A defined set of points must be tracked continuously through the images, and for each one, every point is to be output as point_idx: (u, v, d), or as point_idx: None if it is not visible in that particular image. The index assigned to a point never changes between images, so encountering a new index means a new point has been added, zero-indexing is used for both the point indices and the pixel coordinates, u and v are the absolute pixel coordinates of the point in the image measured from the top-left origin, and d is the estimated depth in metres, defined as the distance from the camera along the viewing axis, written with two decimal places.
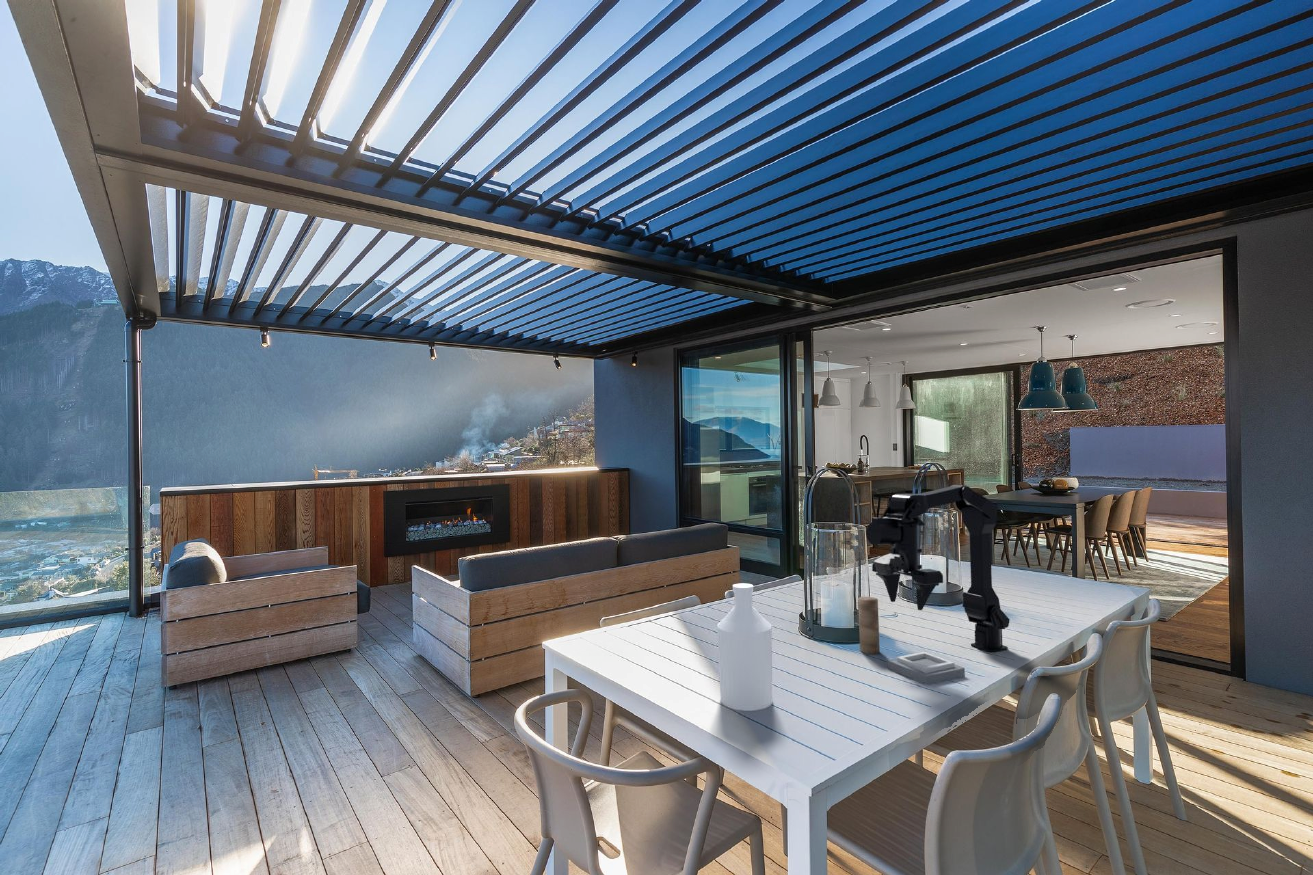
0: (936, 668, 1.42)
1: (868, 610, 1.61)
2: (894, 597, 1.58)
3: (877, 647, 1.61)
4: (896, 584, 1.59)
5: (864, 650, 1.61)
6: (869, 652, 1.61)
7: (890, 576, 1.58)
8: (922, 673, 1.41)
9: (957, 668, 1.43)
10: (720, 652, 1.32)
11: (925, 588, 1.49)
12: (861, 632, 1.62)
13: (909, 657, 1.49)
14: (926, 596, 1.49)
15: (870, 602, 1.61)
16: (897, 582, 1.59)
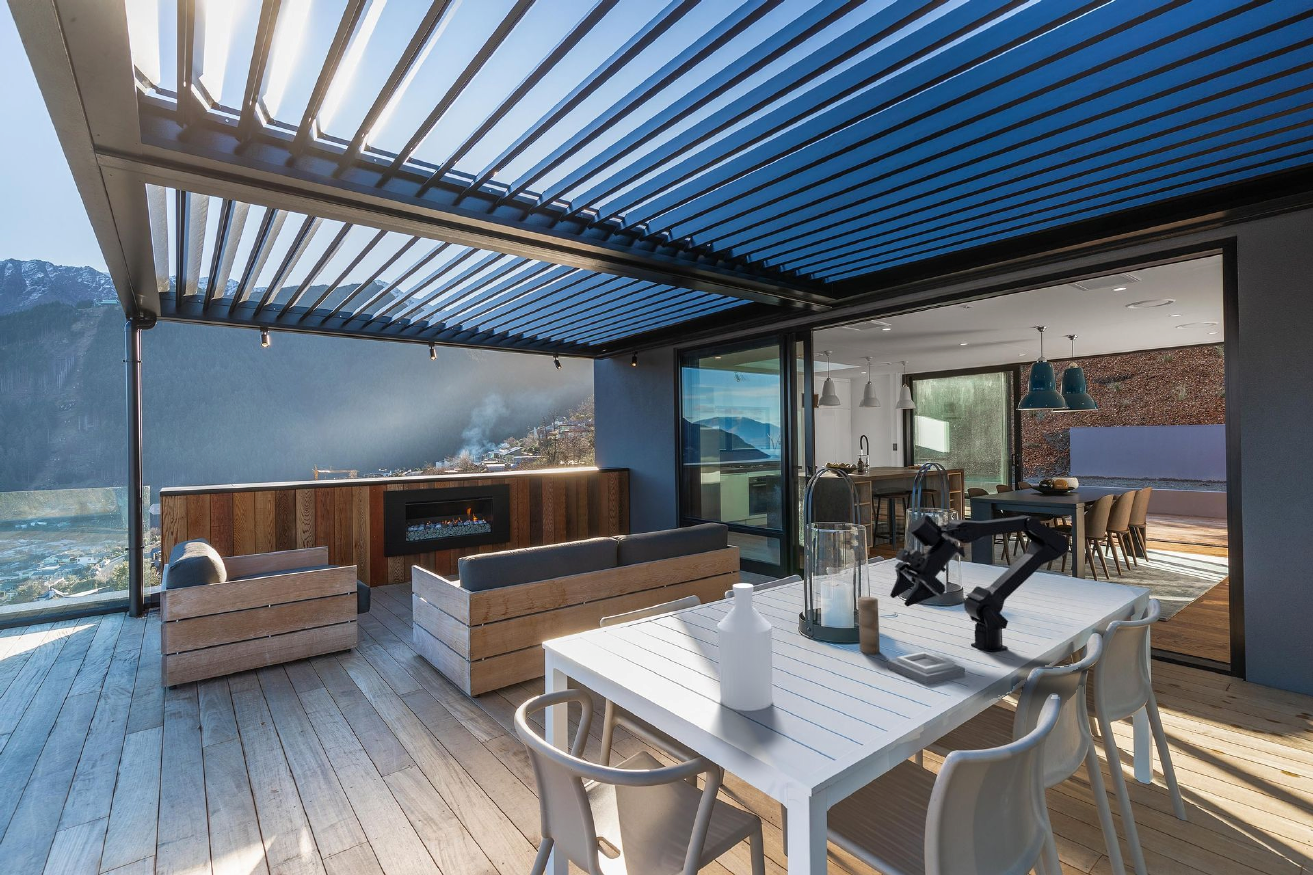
0: (936, 668, 1.42)
1: (868, 610, 1.61)
2: (895, 594, 1.68)
3: (877, 647, 1.61)
4: (904, 588, 1.68)
5: (864, 650, 1.61)
6: (869, 652, 1.61)
7: (905, 578, 1.68)
8: (922, 673, 1.41)
9: (957, 668, 1.43)
10: (720, 652, 1.32)
11: (923, 592, 1.57)
12: (861, 632, 1.62)
13: (909, 657, 1.49)
14: (918, 599, 1.57)
15: (870, 602, 1.61)
16: (907, 588, 1.68)
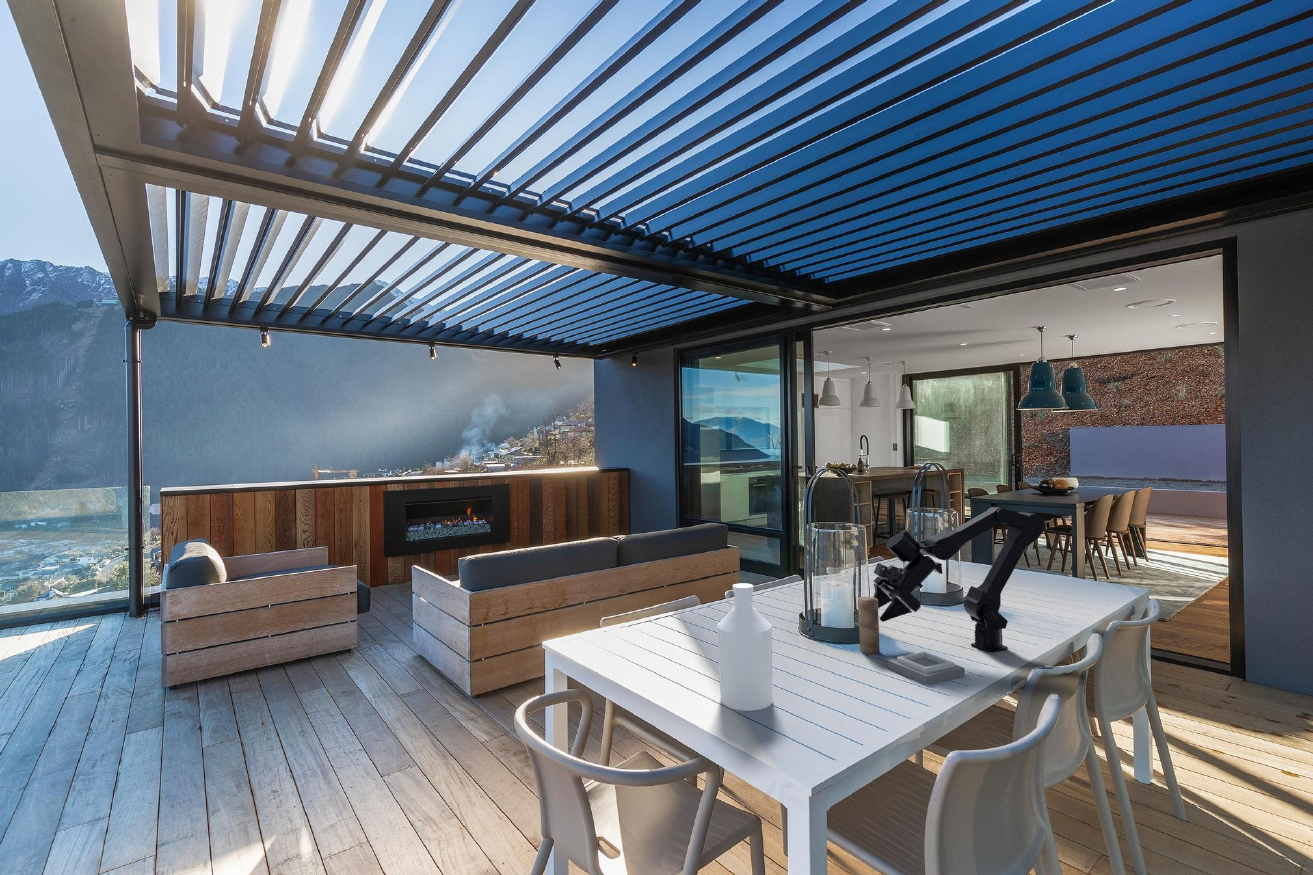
0: (936, 668, 1.42)
1: (868, 610, 1.61)
2: None
3: (877, 647, 1.61)
4: (882, 603, 1.68)
5: (864, 650, 1.61)
6: (869, 652, 1.61)
7: (882, 593, 1.68)
8: (922, 673, 1.41)
9: (957, 668, 1.43)
10: (720, 652, 1.32)
11: (898, 608, 1.57)
12: (861, 632, 1.62)
13: (909, 657, 1.49)
14: (894, 614, 1.57)
15: (870, 602, 1.61)
16: (884, 603, 1.68)
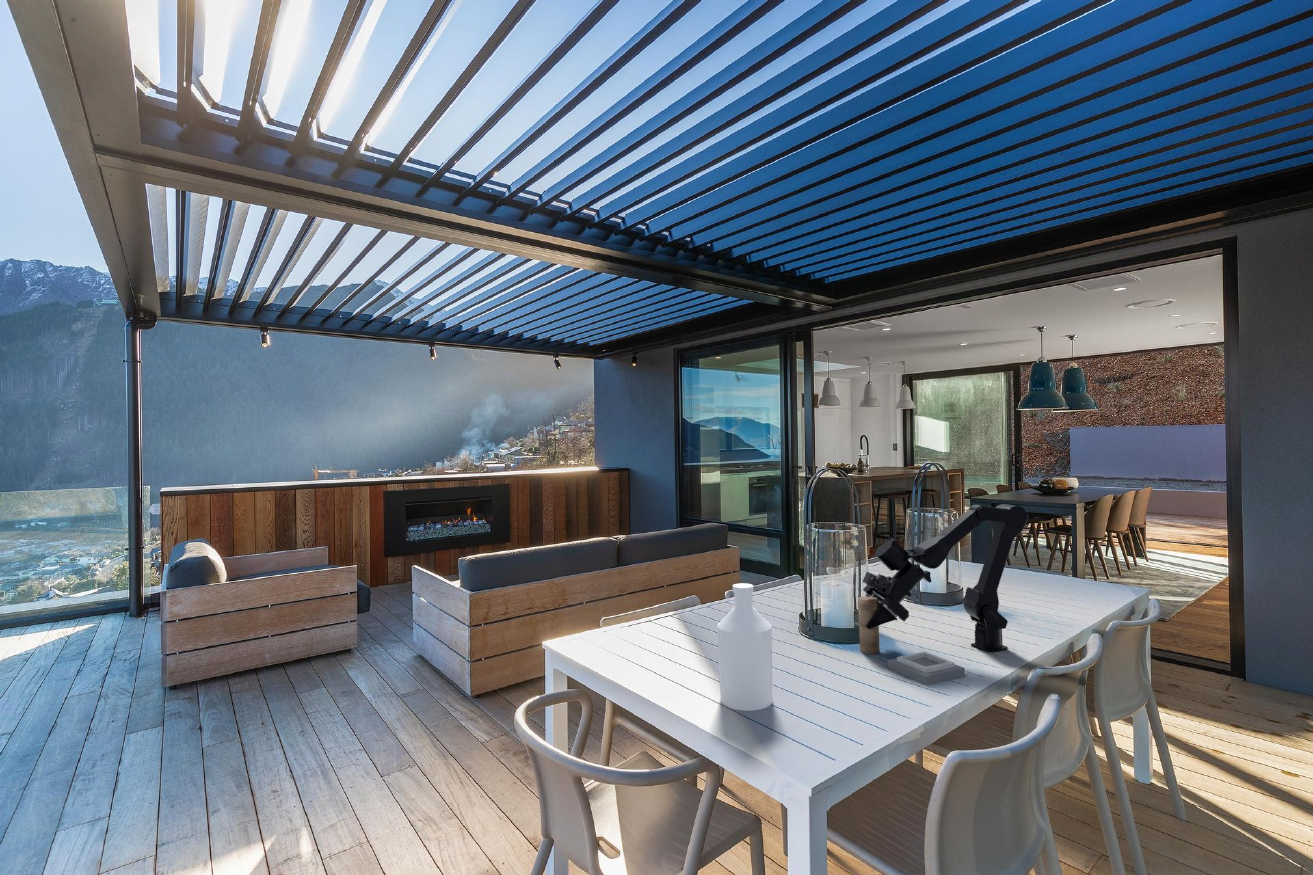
0: (936, 668, 1.42)
1: (868, 610, 1.61)
2: None
3: (877, 647, 1.61)
4: None
5: (864, 650, 1.61)
6: (869, 652, 1.61)
7: None
8: (922, 673, 1.41)
9: (957, 668, 1.43)
10: (720, 652, 1.32)
11: (884, 615, 1.59)
12: (861, 632, 1.62)
13: (909, 657, 1.49)
14: (880, 622, 1.59)
15: (870, 602, 1.61)
16: None
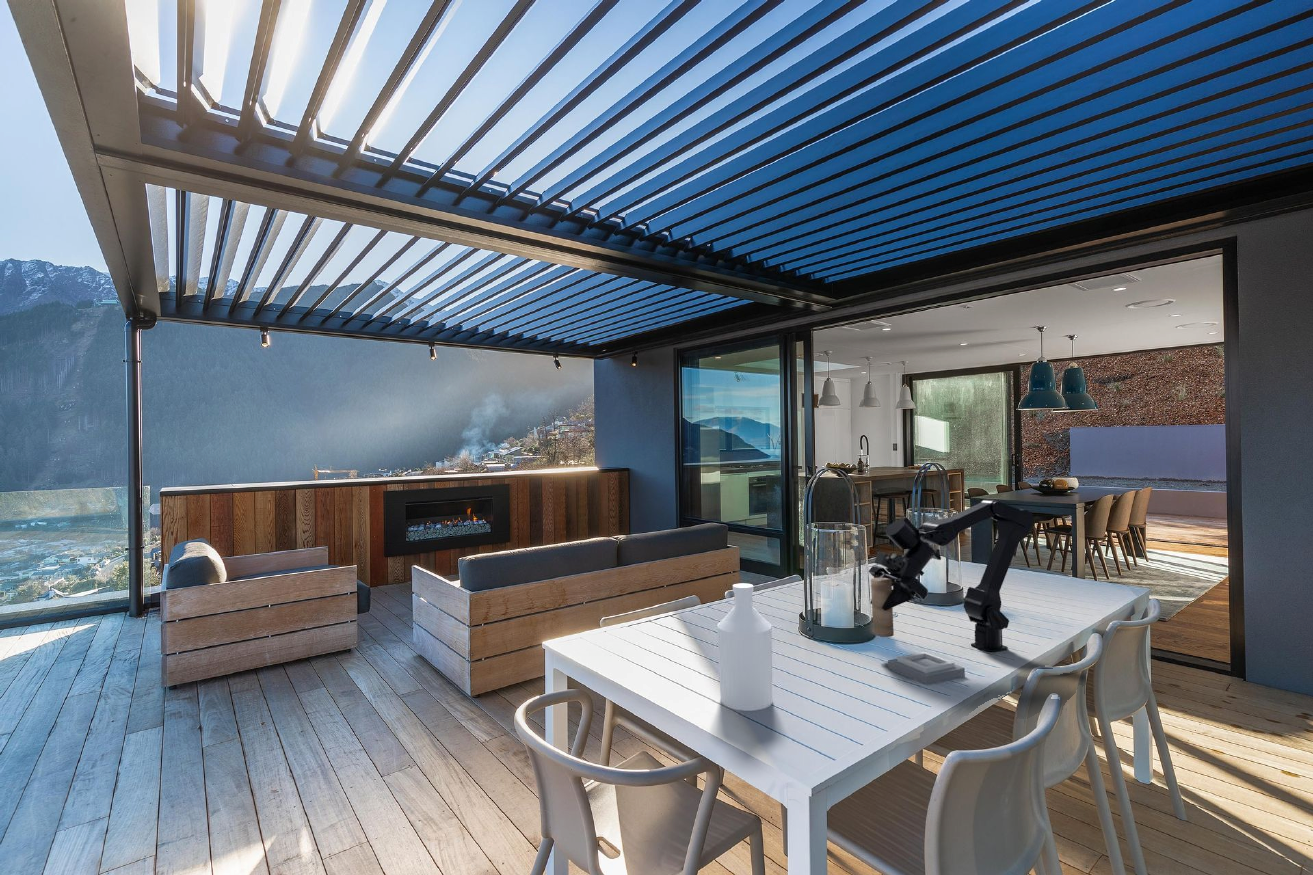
0: (936, 668, 1.42)
1: (883, 591, 1.55)
2: None
3: (892, 629, 1.55)
4: None
5: (879, 633, 1.55)
6: (885, 635, 1.55)
7: None
8: (922, 673, 1.41)
9: (957, 668, 1.43)
10: (720, 652, 1.32)
11: (900, 595, 1.54)
12: (876, 614, 1.56)
13: (909, 657, 1.49)
14: (896, 602, 1.54)
15: (885, 583, 1.55)
16: None
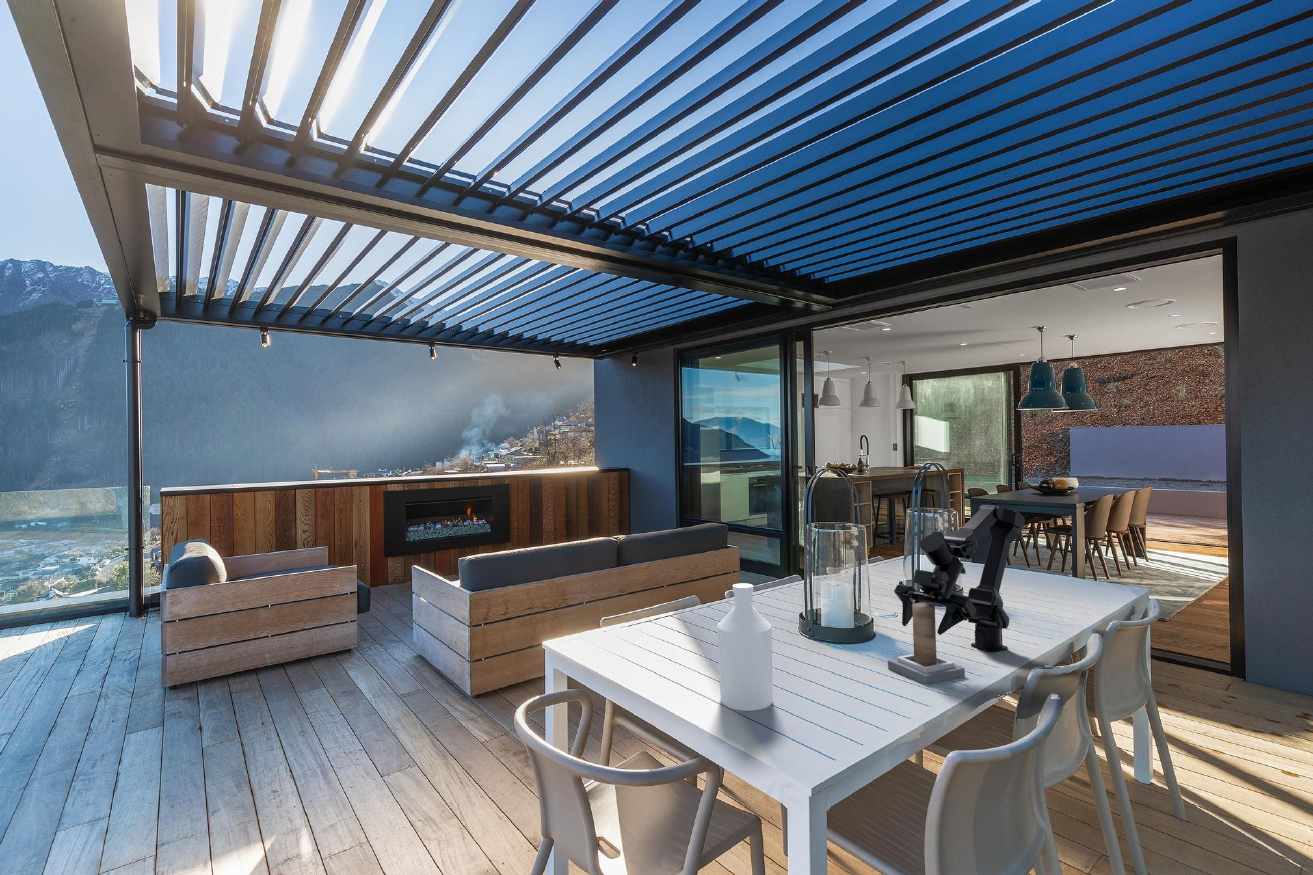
0: (936, 668, 1.42)
1: (930, 618, 1.45)
2: (906, 622, 1.50)
3: (936, 658, 1.46)
4: (911, 614, 1.53)
5: (926, 663, 1.44)
6: None
7: (911, 602, 1.53)
8: (922, 673, 1.41)
9: (957, 668, 1.43)
10: (720, 652, 1.32)
11: (953, 616, 1.44)
12: (922, 644, 1.45)
13: (909, 657, 1.49)
14: (950, 625, 1.43)
15: (932, 609, 1.45)
16: (912, 613, 1.53)
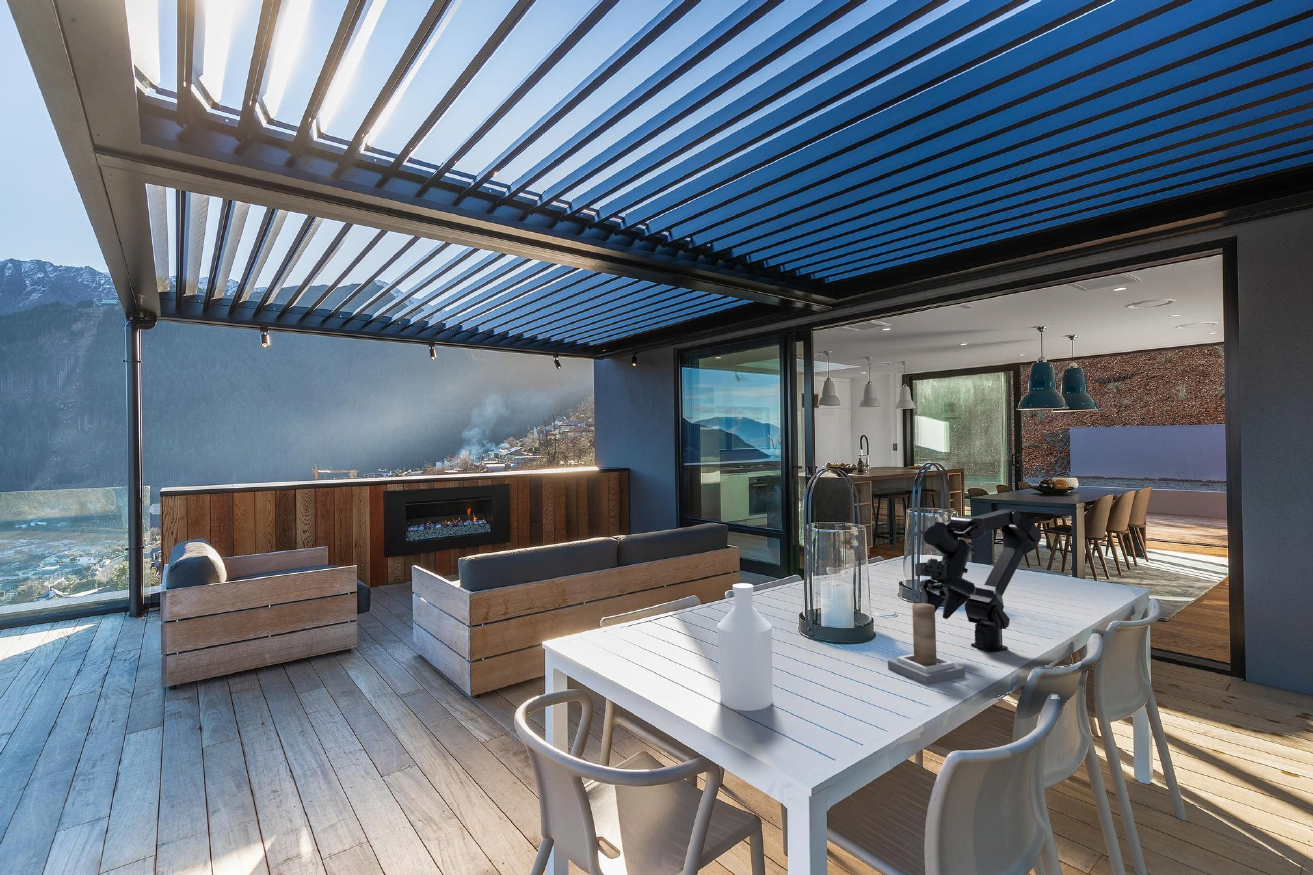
0: (936, 668, 1.42)
1: (930, 618, 1.45)
2: None
3: (936, 658, 1.46)
4: (937, 605, 1.60)
5: (926, 664, 1.44)
6: None
7: (933, 594, 1.60)
8: (922, 673, 1.41)
9: (957, 668, 1.43)
10: (720, 652, 1.32)
11: (955, 598, 1.50)
12: (922, 644, 1.45)
13: (909, 657, 1.49)
14: (954, 607, 1.49)
15: (932, 609, 1.45)
16: (939, 604, 1.60)
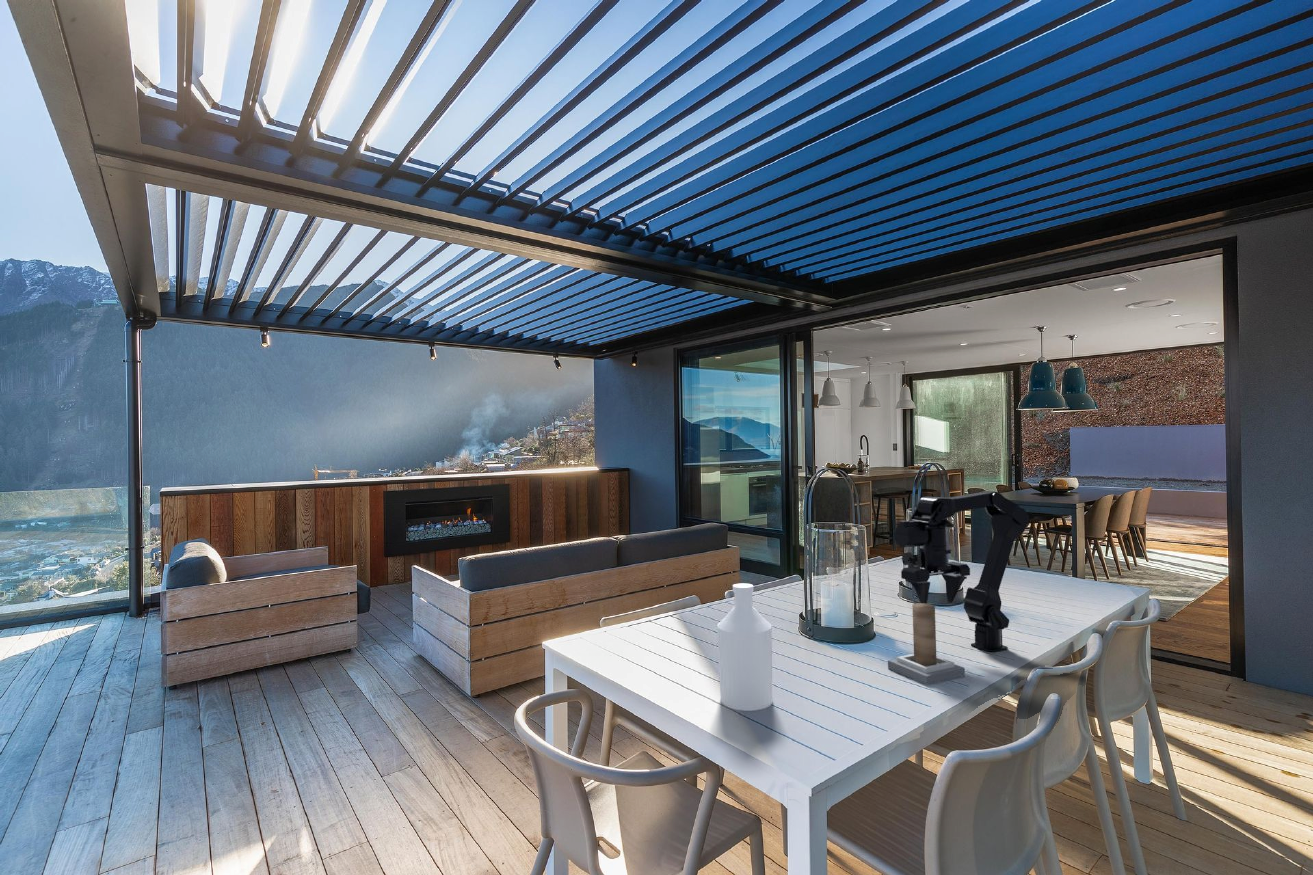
0: (936, 668, 1.42)
1: (930, 618, 1.45)
2: (950, 598, 1.61)
3: (936, 658, 1.46)
4: (954, 587, 1.60)
5: (926, 664, 1.44)
6: None
7: (949, 577, 1.62)
8: (922, 673, 1.41)
9: (957, 668, 1.43)
10: (720, 652, 1.32)
11: (921, 586, 1.57)
12: (922, 644, 1.45)
13: (909, 657, 1.49)
14: (922, 594, 1.56)
15: (932, 609, 1.45)
16: (956, 585, 1.60)
